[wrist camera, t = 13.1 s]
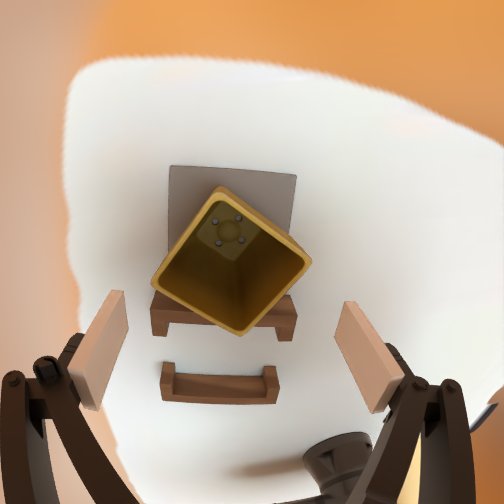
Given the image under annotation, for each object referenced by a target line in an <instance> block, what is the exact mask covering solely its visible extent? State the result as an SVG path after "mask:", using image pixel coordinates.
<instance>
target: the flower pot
mask: <svg viewBox="0 0 504 504" xmlns="http://www.w3.org/2000/svg"><path fill="white" fill-rule="evenodd" d="M236 216H241V217H242V219H241V220H240V221H237V220H236ZM213 219H217V220H218V223H217V224H214V223H213V222H212V221H213ZM241 237H243V238H244V242H239V238H241ZM217 241H221V242H222V244H221V245H217V244H216V242H217ZM311 263H312V259H311V258H310V257H309V256H308V255H307V253H306V252H305V251H304V250H303V249H302V248H301V247H300V246H299V245H298V244H297V243H296V242H295V241H294V240H293V239H292V238H291V237H290V236H289V235H288V234H287V233H286V232H284V231H283V230H282V229H280V228H279V227H278V226H276V225H275V224H273V223H272V222H271V221H269V220H268V219H267V218H265V217H264V216H263V215H261V214H260V213H258V212H257V211H256V210H254V209H253V208H252V207H250V206H249V205H248V204H247V203H245V202H244V201H243V200H241V199H240V198H239V197H237V196H236V195H235V194H233V193H232V192H231V191H229V190H228V189H227V188H225V187H223V186H219V187H217V188H216V189H215V190H214V191H213V193H212V194H211V195H210V197H209V198H208V200H207V201H206V202H205V204H204V205H203V206H202V208H201V209H200V211H199V212H198V213H197V215H196V216H195V217H194V219H193V220H192V221H191V223H190V224H189V226H188V227H187V228H186V230H185V231H184V232H183V234H182V235H181V236H180V238H179V239H178V240H177V242H176V243H175V245H174V246H173V247H172V249H171V250H170V251H169V253H168V254H167V256H166V257H165V259H164V260H163V262H162V263H161V265H160V267H159V268H158V270H157V271H156V273H155V274H154V276H153V277H152V279H151V286H152V287H154V288H155V289H156V290H158V291H160V292H161V293H163V294H165V295H166V296H168V297H170V298H171V299H173V300H175V301H176V302H178V303H180V304H182V305H184V306H185V307H187V308H189V309H190V310H192V311H194V312H195V313H197V314H199V315H201V316H202V317H204V318H206V319H208V320H209V321H211V322H213V323H215V324H216V325H218V326H220V327H221V328H223V329H225V330H227V331H229V332H231V333H233V334H235V335H237V336H239V337H241V336H243V335H245V334H246V333H247V332H248V331H249V330H250V329H251V328H252V327H253V326H254V325H255V324H256V323H257V322H258V321H259V320H260V319H261V318H262V317H263V316H264V315H265V314H266V313H267V312H268V311H269V310H270V309H271V308H272V307H273V306H274V305H275V304H276V303H277V301H278V300H279V299H280V298H281V297H282V296H283V295H284V294H285V293H286V292H287V291H288V290H289V289H290V288H291V287H292V286H293V285H294V284H295V283H296V281H297V280H298V279H299V278H300V277H301V276H302V275H303V274H304V273H305V272H306V270H307V269H308V268H309V266H310V265H311Z"/></svg>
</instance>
